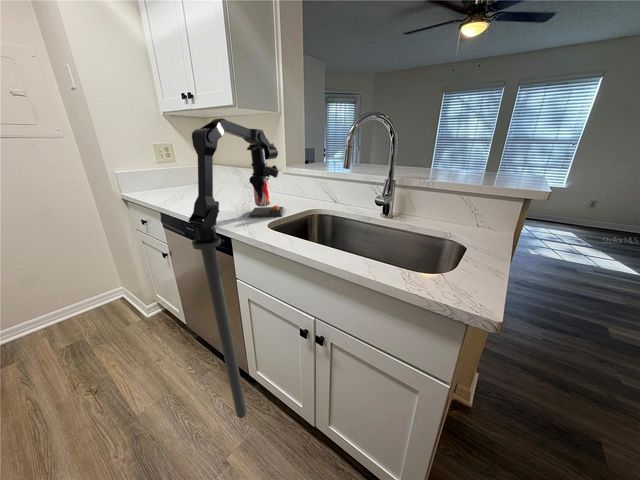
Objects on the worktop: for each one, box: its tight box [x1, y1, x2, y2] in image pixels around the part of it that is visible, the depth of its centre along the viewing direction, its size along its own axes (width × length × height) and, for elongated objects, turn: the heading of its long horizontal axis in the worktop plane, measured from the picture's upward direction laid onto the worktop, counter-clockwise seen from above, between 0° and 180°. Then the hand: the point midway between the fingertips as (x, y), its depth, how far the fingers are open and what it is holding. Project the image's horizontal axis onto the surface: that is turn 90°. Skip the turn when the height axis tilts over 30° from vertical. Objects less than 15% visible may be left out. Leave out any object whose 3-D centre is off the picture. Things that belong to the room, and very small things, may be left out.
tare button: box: [272, 205, 280, 210], centre depth 117 cm, size 3×3×2 cm
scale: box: [249, 206, 285, 219], centre depth 121 cm, size 14×12×3 cm
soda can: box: [253, 179, 271, 207], centre depth 120 cm, size 7×7×12 cm
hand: (262, 195), depth 120 cm, fingers closed on soda can, 7 cm apart
